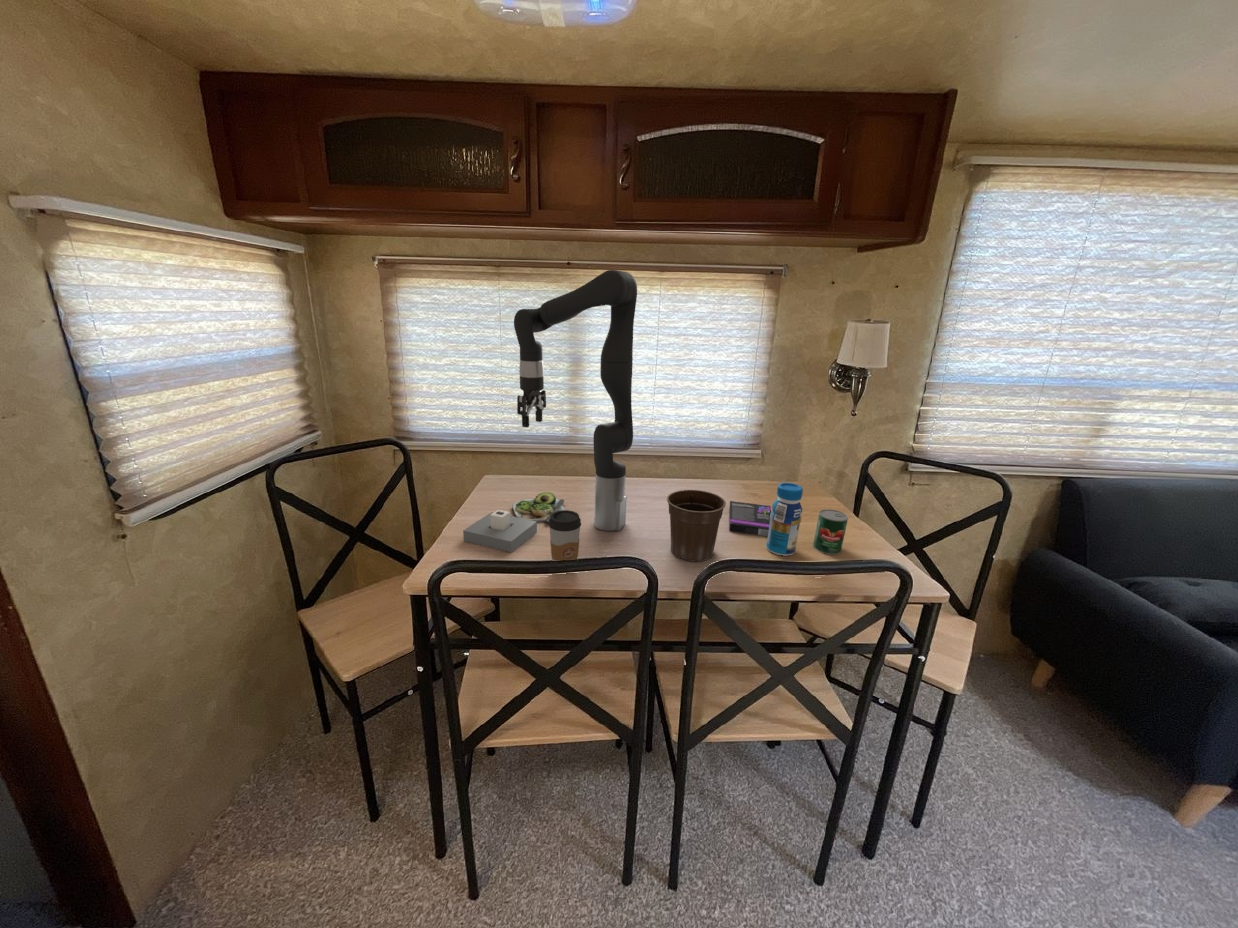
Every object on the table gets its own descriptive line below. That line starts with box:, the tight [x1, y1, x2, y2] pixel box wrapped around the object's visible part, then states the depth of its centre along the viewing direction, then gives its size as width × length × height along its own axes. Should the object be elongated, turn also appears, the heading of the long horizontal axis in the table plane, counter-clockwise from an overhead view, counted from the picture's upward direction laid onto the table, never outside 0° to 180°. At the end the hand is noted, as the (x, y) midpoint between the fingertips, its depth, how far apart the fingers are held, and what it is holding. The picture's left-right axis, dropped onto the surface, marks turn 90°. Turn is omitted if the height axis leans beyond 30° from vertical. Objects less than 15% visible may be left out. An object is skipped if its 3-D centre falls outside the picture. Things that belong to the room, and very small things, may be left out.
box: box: [728, 500, 772, 537], centre depth 160 cm, size 14×4×20 cm
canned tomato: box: [812, 508, 849, 555], centre depth 142 cm, size 8×8×11 cm
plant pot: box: [666, 489, 727, 562], centre depth 136 cm, size 16×16×16 cm
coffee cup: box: [548, 509, 582, 561], centre depth 126 cm, size 8×8×15 cm
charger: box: [490, 509, 511, 532], centre depth 142 cm, size 4×4×7 cm
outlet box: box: [462, 511, 538, 553], centre depth 143 cm, size 16×14×4 cm
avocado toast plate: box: [512, 491, 565, 523], centre depth 159 cm, size 19×18×5 cm
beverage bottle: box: [765, 482, 804, 557], centre depth 139 cm, size 8×8×20 cm
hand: (532, 424), depth 159 cm, fingers open, 8 cm apart
